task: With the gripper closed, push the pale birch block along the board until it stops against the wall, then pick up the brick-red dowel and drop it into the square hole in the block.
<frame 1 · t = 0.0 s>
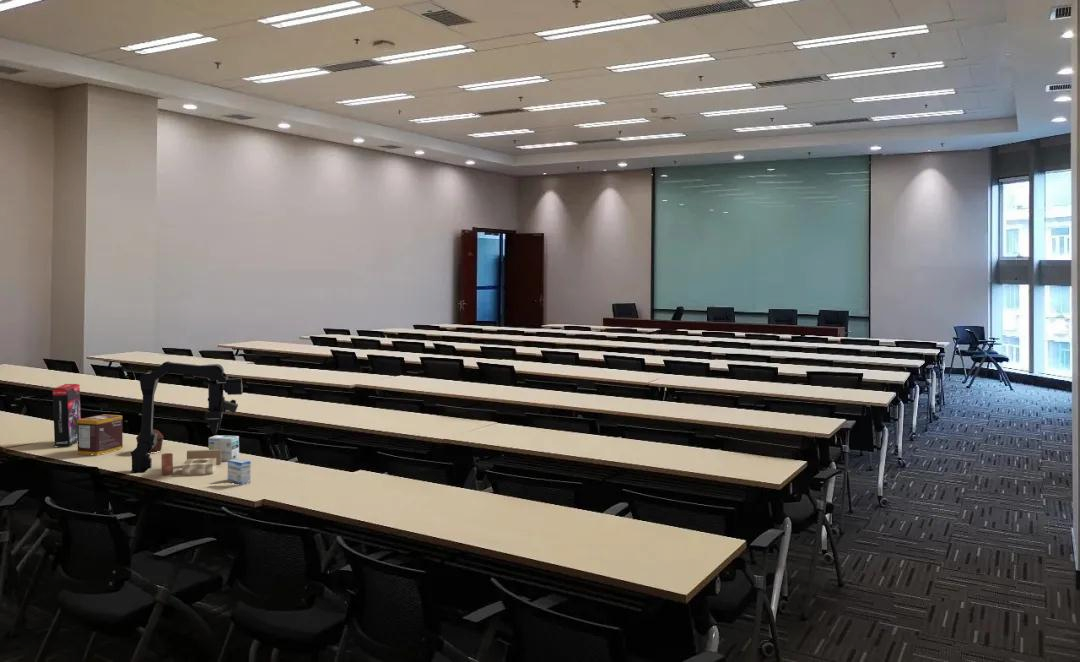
hand: (216, 432, 330), 15 cm above the table, tool pointing down, fingers open, 9 cm apart
dowel: (167, 476, 314), on the table
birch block: (199, 466, 320), point 3 cm above the table, slide at 0.0 cm
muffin: (150, 452, 359), on the table
backstop board: (201, 472, 323), on the table
light bulb box: (223, 461, 343), on the table
medicine box: (239, 483, 307), on the table
supplement box: (100, 452, 358), on the table
graphics card box: (67, 444, 373), on the table
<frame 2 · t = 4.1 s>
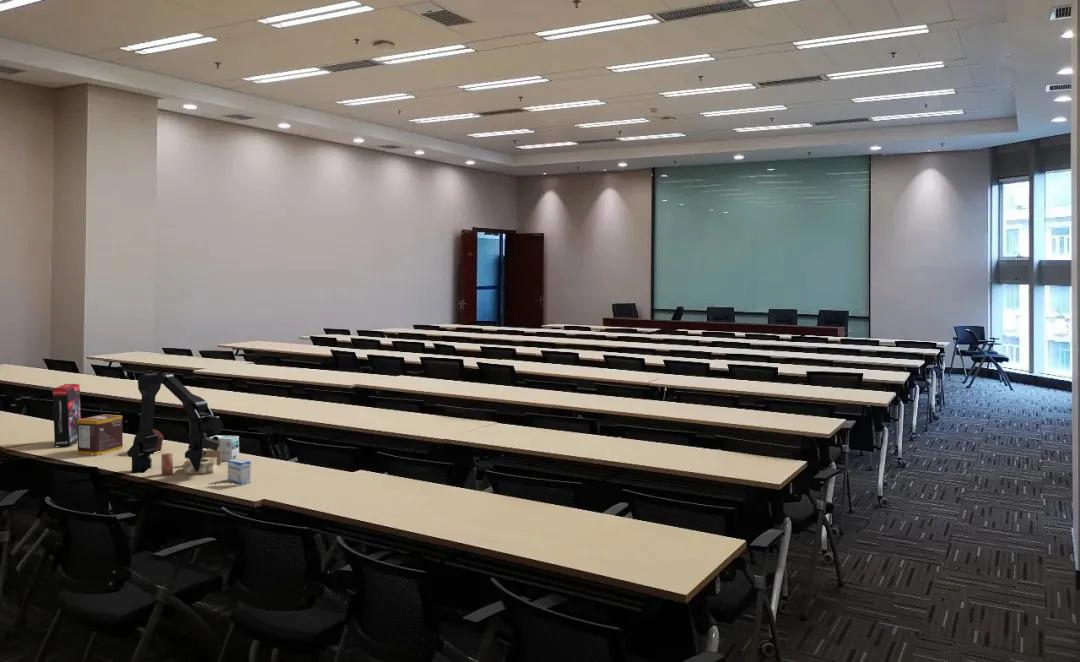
hand: (197, 471, 314), 2 cm above the table, tool pointing down, fingers closed
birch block: (200, 465, 321), point 3 cm above the table, slide at 1.6 cm, touching gripper
everything else where it was.
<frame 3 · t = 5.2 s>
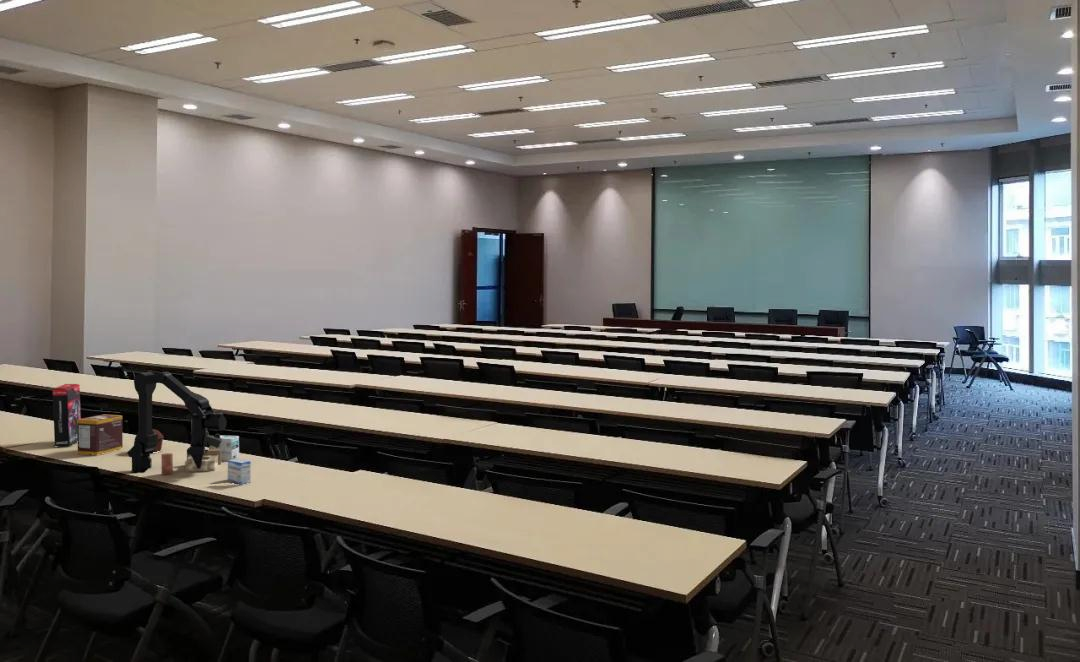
hand: (198, 468, 319), 2 cm above the table, tool pointing down, fingers closed
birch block: (201, 463, 325), point 3 cm above the table, slide at 6.0 cm, touching backstop board, gripper
everything else where it was.
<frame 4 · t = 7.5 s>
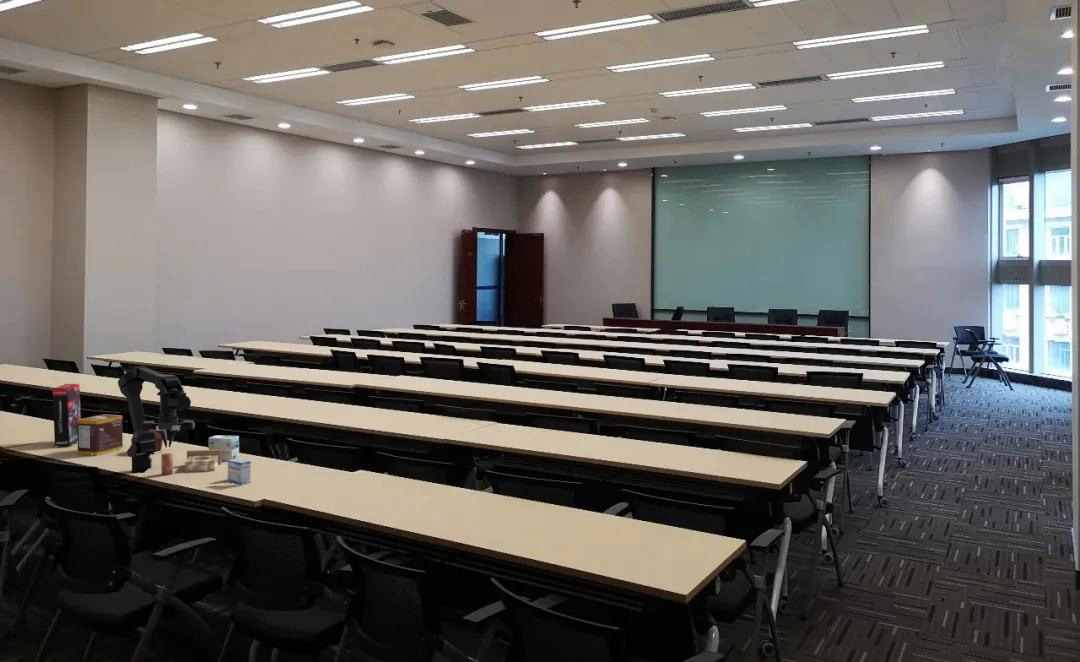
hand: (167, 447, 314), 12 cm above the table, tool pointing down, fingers closed
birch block: (201, 463, 325), point 3 cm above the table, slide at 6.0 cm, touching backstop board
everything else where it was.
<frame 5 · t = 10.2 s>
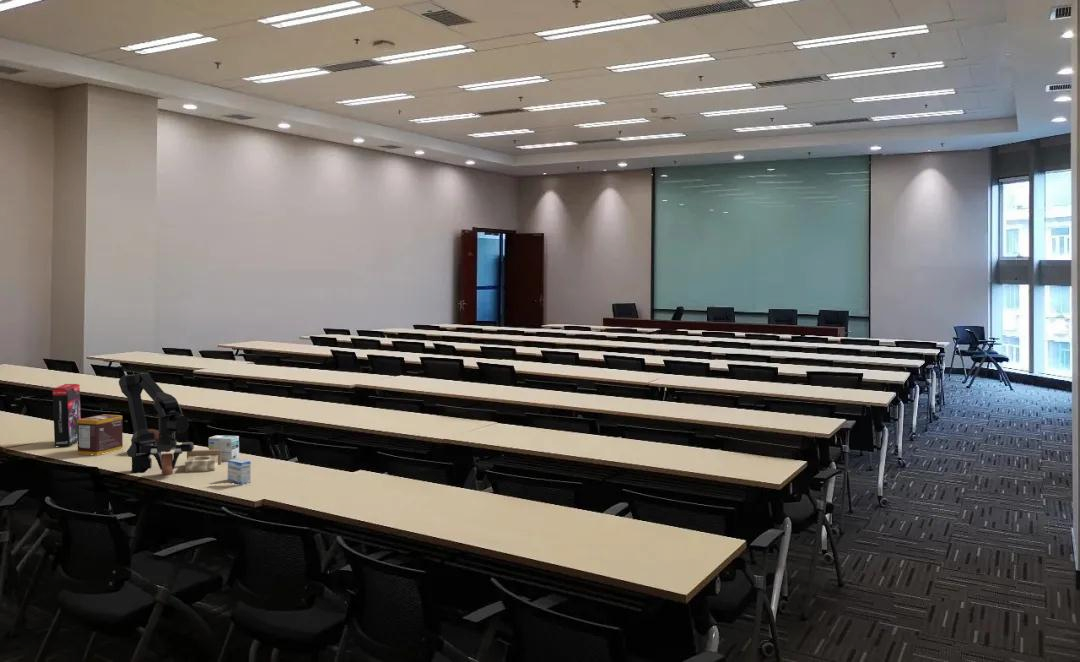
hand: (167, 469, 314), 3 cm above the table, tool pointing down, fingers closed on dowel, 4 cm apart
dowel: (167, 476, 314), on the table, touching gripper
everything else where it was.
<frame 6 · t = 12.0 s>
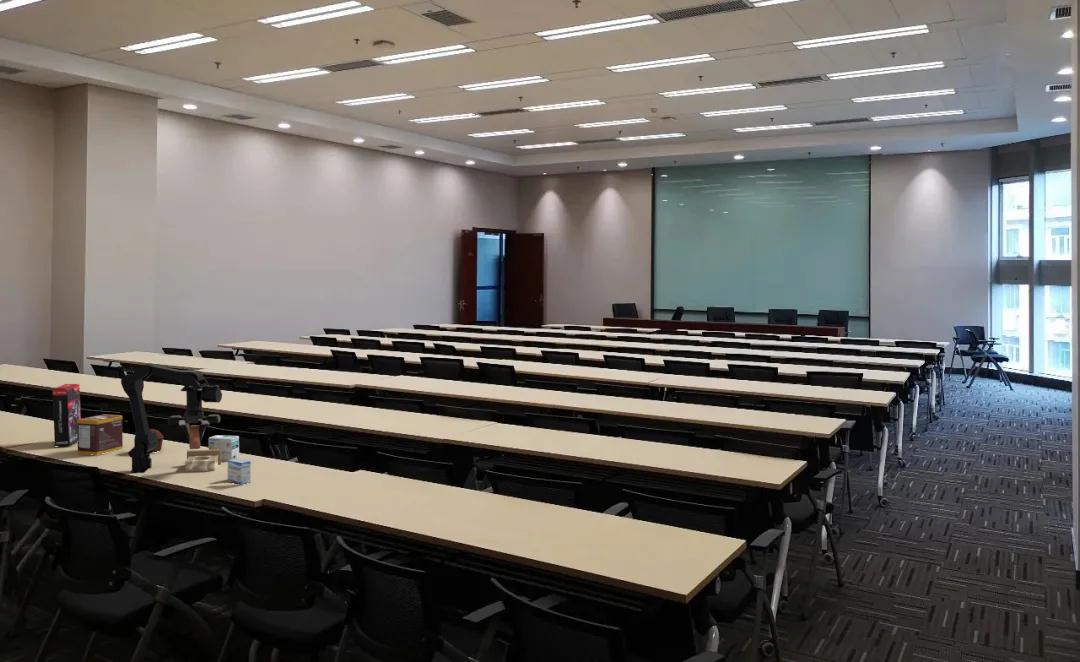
hand: (194, 440, 322), 13 cm above the table, tool pointing down, fingers closed on dowel, 4 cm apart
dowel: (194, 448, 322), point 10 cm above the table, touching gripper
everything else where it was.
when the fingers open (6 cm above the table, at t = 14.1 s): dowel drops 2 cm, resting on backstop board.
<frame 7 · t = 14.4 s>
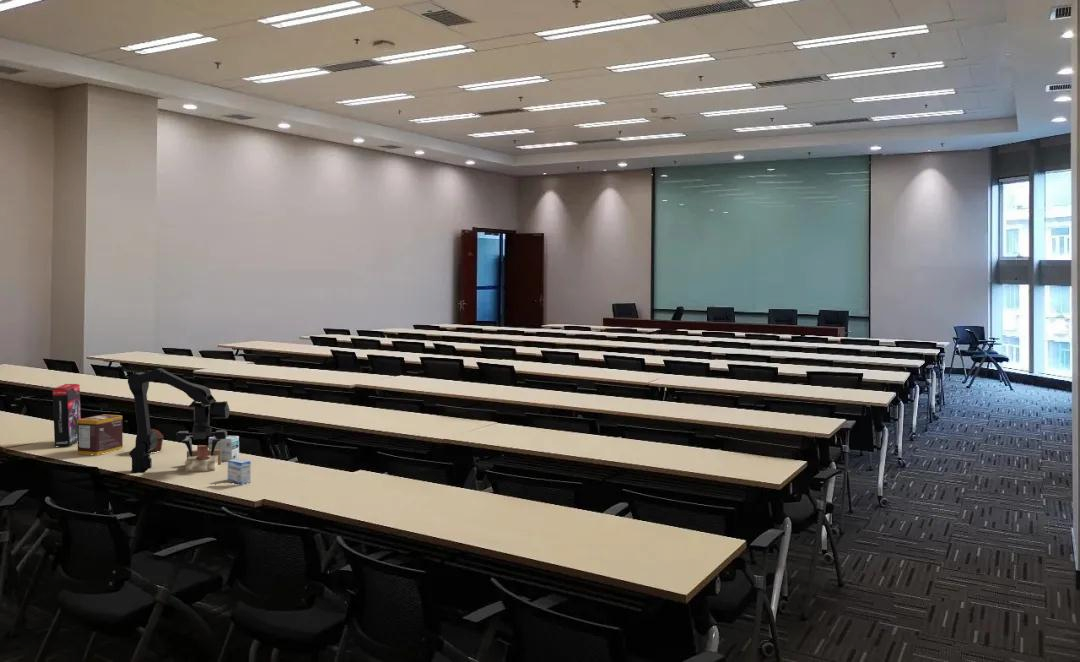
hand: (201, 456, 325), 6 cm above the table, tool pointing down, fingers open, 7 cm apart
dowel: (201, 468, 325), point 1 cm above the table, touching backstop board
everything else where it was.
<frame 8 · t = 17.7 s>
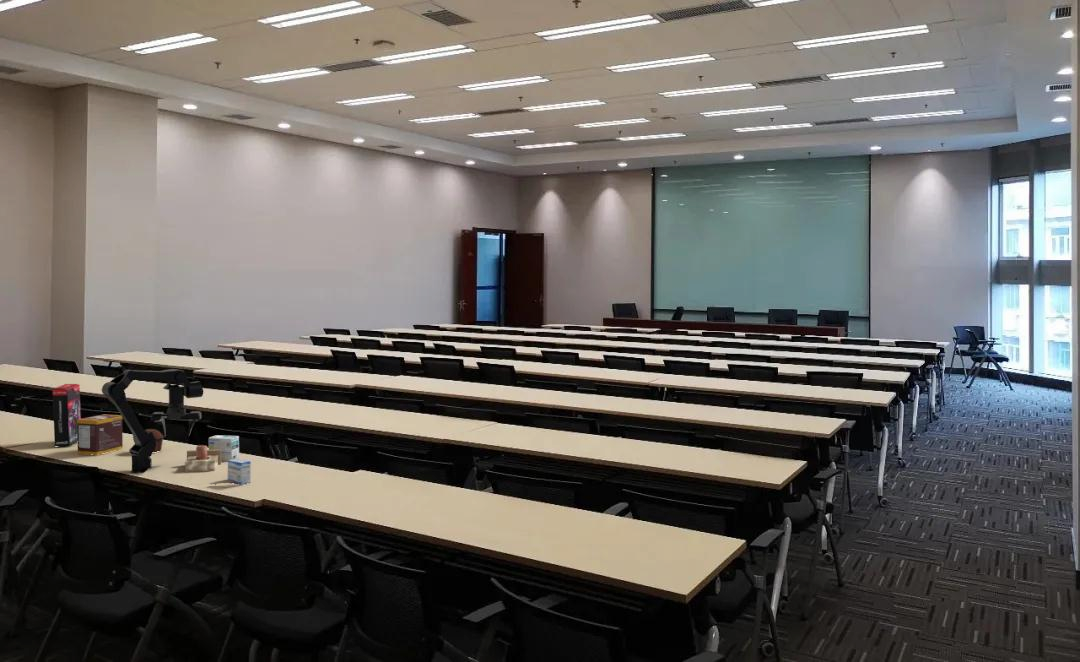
hand: (176, 436, 334), 12 cm above the table, tool pointing down, fingers open, 9 cm apart
nothing on the table moved.
at the end: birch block slide at 6.0 cm; dowel 0.1 cm from the target spot, point 1.0 cm above the table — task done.
